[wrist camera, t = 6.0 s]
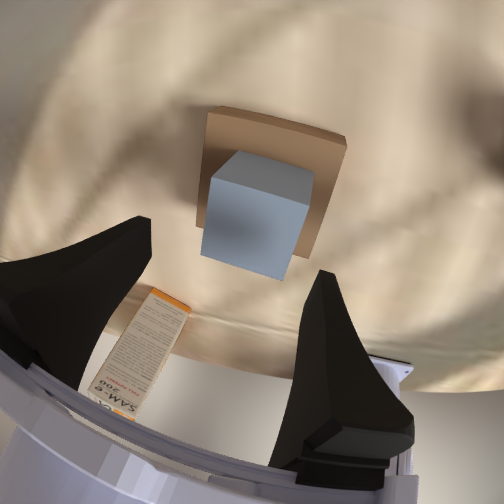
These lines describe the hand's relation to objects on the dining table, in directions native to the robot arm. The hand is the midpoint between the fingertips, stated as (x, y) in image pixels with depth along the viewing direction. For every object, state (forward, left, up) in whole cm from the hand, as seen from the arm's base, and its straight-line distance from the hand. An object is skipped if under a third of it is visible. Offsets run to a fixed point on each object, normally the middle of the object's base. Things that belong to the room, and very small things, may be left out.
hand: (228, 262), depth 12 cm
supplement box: (-19, +8, -10) cm, 23 cm away
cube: (0, 0, -7) cm, 7 cm away
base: (0, 0, -10) cm, 10 cm away
